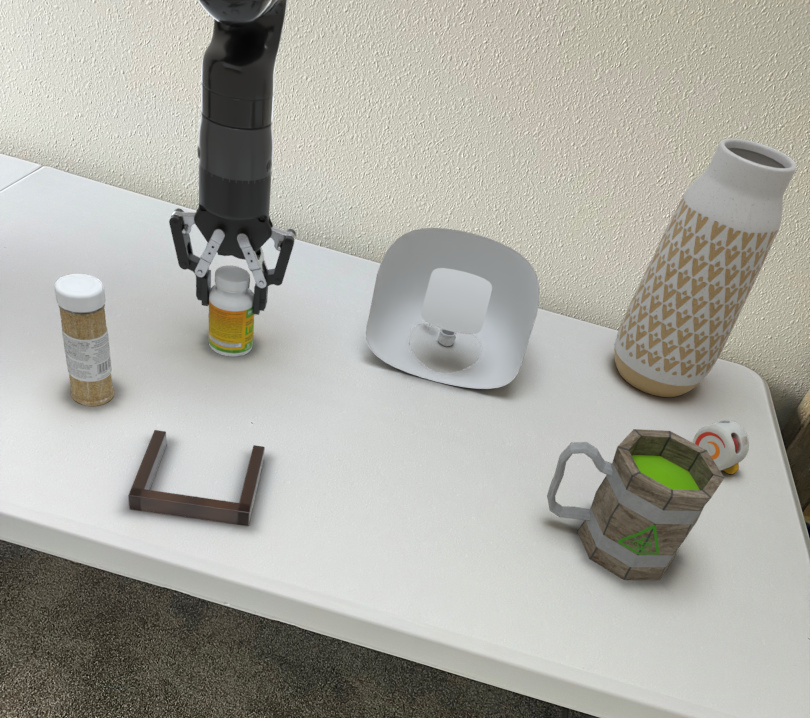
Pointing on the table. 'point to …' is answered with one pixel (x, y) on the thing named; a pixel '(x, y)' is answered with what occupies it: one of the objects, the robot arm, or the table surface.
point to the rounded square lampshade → (454, 303)
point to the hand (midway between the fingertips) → (231, 306)
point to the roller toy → (724, 444)
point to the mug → (641, 501)
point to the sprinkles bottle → (85, 338)
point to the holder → (191, 505)
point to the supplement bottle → (231, 312)
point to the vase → (703, 269)
